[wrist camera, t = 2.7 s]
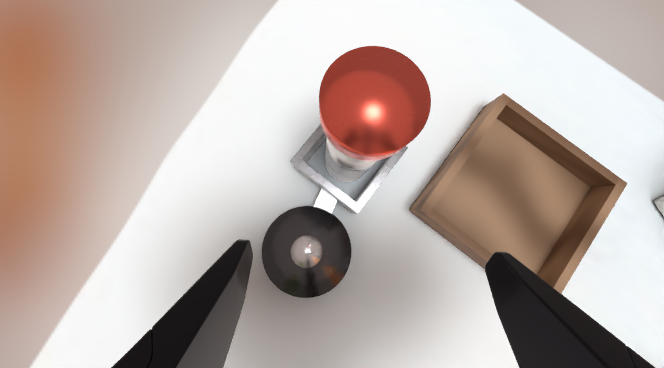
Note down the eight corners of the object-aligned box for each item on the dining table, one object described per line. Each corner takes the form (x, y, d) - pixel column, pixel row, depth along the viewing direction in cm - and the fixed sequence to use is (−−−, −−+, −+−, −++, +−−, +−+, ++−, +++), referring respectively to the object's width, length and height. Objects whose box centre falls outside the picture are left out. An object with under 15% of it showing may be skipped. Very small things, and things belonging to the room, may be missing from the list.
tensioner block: (314, 310, 20) (313, 323, 18) (231, 242, 21) (219, 246, 18) (418, 170, 22) (430, 164, 20) (340, 110, 23) (342, 98, 20)
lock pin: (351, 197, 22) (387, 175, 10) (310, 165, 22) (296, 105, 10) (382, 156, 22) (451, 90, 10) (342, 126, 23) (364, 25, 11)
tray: (524, 299, 21) (550, 310, 19) (408, 210, 22) (419, 209, 19) (594, 186, 23) (627, 183, 20) (484, 106, 23) (503, 93, 21)
